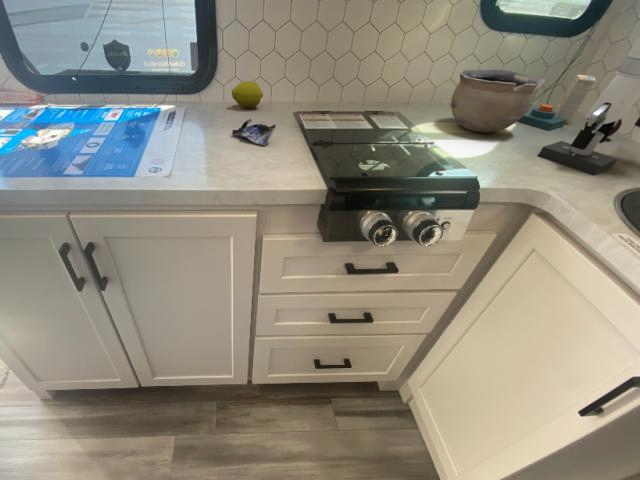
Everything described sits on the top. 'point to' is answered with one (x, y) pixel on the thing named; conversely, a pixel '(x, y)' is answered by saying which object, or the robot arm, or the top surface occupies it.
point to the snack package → (255, 132)
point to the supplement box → (574, 96)
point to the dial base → (577, 158)
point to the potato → (615, 127)
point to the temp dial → (591, 145)
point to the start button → (545, 108)
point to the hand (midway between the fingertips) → (586, 144)
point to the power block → (542, 119)
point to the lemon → (247, 94)
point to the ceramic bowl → (492, 99)
